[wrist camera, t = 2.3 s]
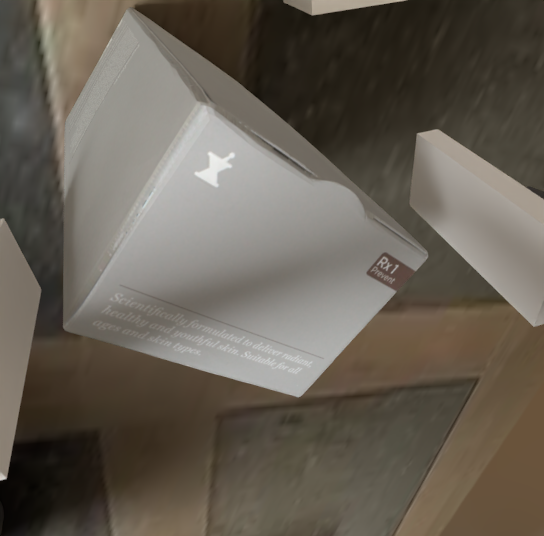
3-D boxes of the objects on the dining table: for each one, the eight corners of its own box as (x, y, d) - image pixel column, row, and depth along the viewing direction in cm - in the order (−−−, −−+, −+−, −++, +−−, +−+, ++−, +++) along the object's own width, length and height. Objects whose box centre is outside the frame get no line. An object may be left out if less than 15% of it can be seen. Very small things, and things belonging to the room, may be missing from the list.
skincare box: (63, 120, 23) (18, 351, 11) (139, -16, 20) (193, 80, 8) (206, 199, 27) (289, 423, 15) (280, 96, 25) (449, 263, 13)
